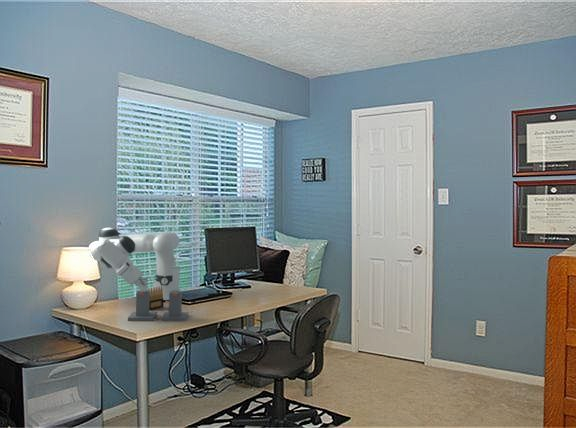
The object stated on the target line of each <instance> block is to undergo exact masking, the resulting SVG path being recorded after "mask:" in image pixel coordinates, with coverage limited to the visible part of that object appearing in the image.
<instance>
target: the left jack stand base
mask: <svg viewBox="0 0 576 428" xmlns="http://www.w3.org/2000/svg"><path fill="white" fill-rule="evenodd" d="M135 304H136V305H135V311H132V312H131V314H130V315H129V316H128V317H127V321H130V322H131V321H132V322H138V321H139V322H141V321H142V322H144V321H145V322H146V321H147V322H154V320H155V318H156V316H157V315H158V314H157V311H150V310H149V304H150V291H148V290H147V292H146V293H140V290H138V291H137V292H136V294H135Z"/></svg>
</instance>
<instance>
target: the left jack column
mask: <svg viewBox="0 0 576 428" xmlns="http://www.w3.org/2000/svg"><path fill="white" fill-rule="evenodd" d="M139 282H140V283H141V284H143V285H144V287H143V288H142V289H141V288H140V287H139V291H140V293H146V292H147V291H148V287H147V286H148V277H142V278H140V281H139Z"/></svg>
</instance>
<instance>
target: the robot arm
mask: <svg viewBox="0 0 576 428" xmlns="http://www.w3.org/2000/svg"><path fill="white" fill-rule="evenodd" d="M121 235H122V233H121V232H119V230H118V229H115V228H113V227H104V228H102V229H100V230H99V231H98V240H95V241H92V242H91V243H90V244H89V246H88V247H87V249H88V248H90V249H91V254H92V256H93V258H94V259H93V258H92V259H93V260H94V261H97V262H101V263H102V264H103V265H104V266H106V268H107V269H114V271H115V274H116V275H117V276H118V277H121V278H122V280H124V281H125V282H126V283H127V284H128V285H130V286H133V285H135V286H137V287H138V288H139V289H140V288H141V289H142V288H143V287H144V285H143V284H141V283H140V278H143V276H144V273H143V272H142V271H141V270H140V269H139V268H138V267H137V266H136V265H134V261H132V259H131V258H130V257H129V256H130V255H131V254H132V253H151V252H154V254H155V261H156V274H155V277H154V278H155V282H154V283H152V289H153V288H155V289H156V287H157V290H158V287H160V289H161V286H162V289H163V301H169V293H170V291H172V279H173V266H176V264H177V261H176V259H175V255H174V250H175V249H177V248H178V246H179V244H180V237H179V236H178V234H176V233H174V232H171V231H170V232H169V231H168V232H155V233H154V232H152V233H131V234H130V233H129V234H125V235H122V236H121ZM152 293H153V291H152Z"/></svg>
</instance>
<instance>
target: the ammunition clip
mask: <svg viewBox="0 0 576 428" xmlns="http://www.w3.org/2000/svg"><path fill="white" fill-rule="evenodd" d="M147 291H150V304H149V311H154V310H159V309H161V308H164V300H163V289H162V286H161V289H160V287H158V290H157V287H156V289H155V288H153V287H147ZM152 292H153V293H152Z"/></svg>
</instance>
